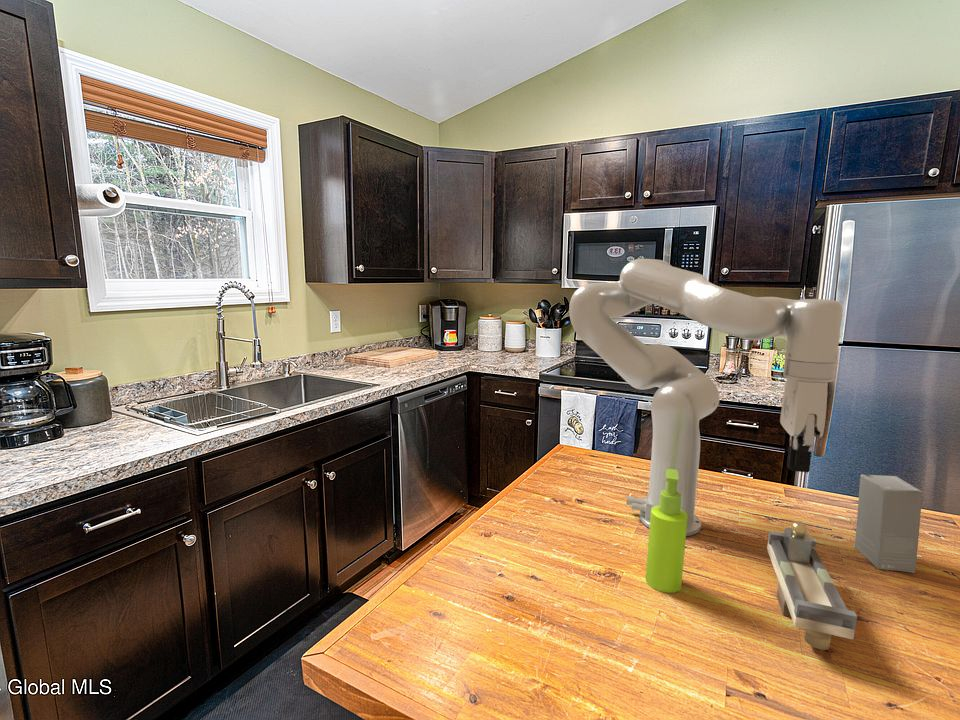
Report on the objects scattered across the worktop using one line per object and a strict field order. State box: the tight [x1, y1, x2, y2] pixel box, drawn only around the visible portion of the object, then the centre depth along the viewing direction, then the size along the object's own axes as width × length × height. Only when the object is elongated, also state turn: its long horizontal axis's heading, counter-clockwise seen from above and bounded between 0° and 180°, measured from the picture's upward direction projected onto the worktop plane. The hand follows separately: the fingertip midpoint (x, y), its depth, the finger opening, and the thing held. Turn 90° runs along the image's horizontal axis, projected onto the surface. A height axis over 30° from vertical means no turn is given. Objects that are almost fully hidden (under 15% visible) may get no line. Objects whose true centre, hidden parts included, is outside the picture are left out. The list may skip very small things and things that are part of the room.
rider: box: [782, 520, 812, 564], centre depth 85 cm, size 3×4×6 cm
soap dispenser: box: [645, 468, 688, 593], centre depth 86 cm, size 6×7×20 cm
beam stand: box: [766, 530, 858, 651], centre depth 80 cm, size 7×22×8 cm, turn 159°
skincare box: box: [854, 474, 924, 574], centre depth 94 cm, size 8×7×16 cm
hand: (797, 469), depth 90 cm, fingers closed
